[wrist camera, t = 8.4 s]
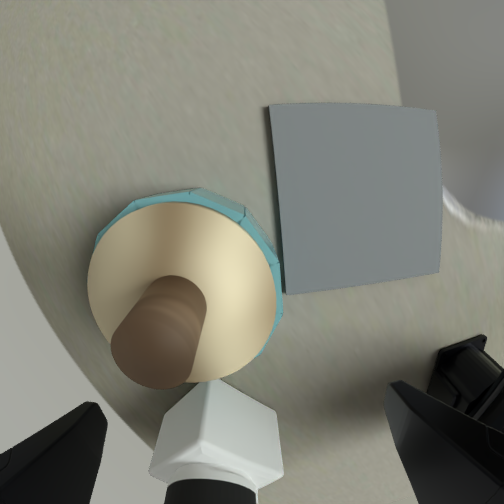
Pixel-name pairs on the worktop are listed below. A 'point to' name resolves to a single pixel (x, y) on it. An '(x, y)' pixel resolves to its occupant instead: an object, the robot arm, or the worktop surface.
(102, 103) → the worktop surface
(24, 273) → the worktop surface
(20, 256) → the worktop surface
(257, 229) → the bowl
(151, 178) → the worktop surface
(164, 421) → the medicine bottle
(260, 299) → the lid
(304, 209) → the mat
